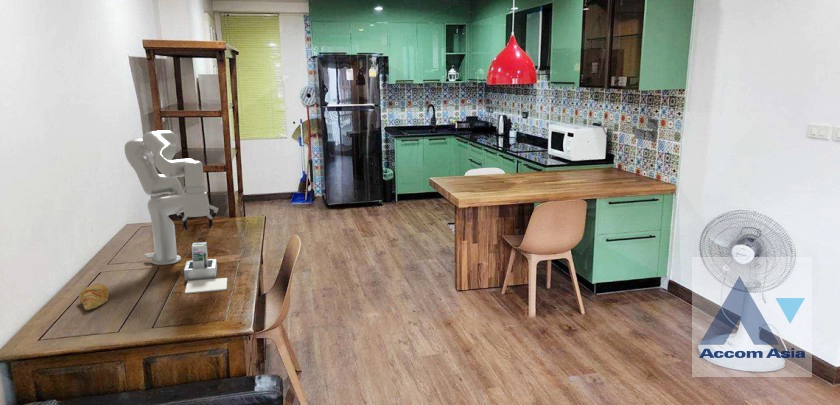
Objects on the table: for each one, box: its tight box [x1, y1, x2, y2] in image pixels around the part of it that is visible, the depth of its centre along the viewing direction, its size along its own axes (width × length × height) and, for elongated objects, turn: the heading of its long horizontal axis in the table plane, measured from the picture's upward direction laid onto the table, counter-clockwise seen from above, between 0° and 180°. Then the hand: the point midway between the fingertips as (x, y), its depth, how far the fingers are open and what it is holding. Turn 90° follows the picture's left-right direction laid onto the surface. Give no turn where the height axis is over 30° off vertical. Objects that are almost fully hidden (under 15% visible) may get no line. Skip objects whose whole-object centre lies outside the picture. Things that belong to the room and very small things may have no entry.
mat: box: [184, 277, 228, 295], centre depth 235 cm, size 16×13×1 cm
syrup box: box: [191, 241, 209, 268], centre depth 246 cm, size 6×6×14 cm
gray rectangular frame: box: [183, 258, 218, 282], centre depth 250 cm, size 12×19×5 cm, turn 17°
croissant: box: [78, 283, 110, 311], centre depth 218 cm, size 21×10×8 cm, turn 17°
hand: (198, 228), depth 243 cm, fingers open, 9 cm apart
